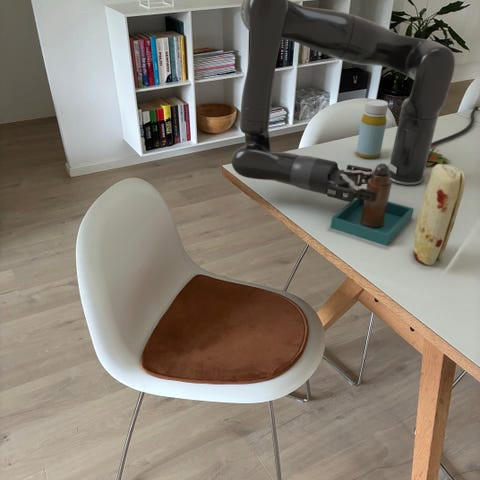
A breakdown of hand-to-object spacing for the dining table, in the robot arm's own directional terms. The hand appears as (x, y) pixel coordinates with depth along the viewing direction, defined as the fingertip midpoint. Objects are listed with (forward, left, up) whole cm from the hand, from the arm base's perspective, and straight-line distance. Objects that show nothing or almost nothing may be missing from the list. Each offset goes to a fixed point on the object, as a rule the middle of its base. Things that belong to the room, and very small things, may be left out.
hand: (381, 189), depth 116 cm
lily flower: (-47, -3, -9) cm, 48 cm away
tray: (0, -1, -9) cm, 9 cm away
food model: (+7, +14, -9) cm, 18 cm away
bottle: (-40, -19, -9) cm, 45 cm away
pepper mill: (0, -1, -8) cm, 8 cm away
